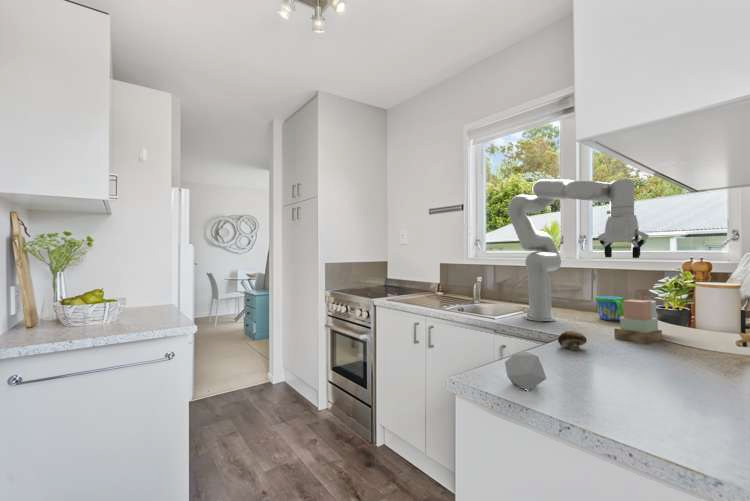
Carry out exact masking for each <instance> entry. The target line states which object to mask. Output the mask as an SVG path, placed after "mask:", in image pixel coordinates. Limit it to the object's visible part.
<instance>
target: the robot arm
mask: <svg viewBox="0 0 750 501" xmlns="http://www.w3.org/2000/svg"><path fill="white" fill-rule="evenodd" d="M531 191H532V193H533V194H534V195H528V194H518V195H515V196H514V197H512V198H511V199H510V200H509V203H508V205H507V215H508V218H509V220H510V222H511V224H512V226H513V228H514V231H515V234H516V236H517V239H518V241H519V243H520V245H521V247H522V249H523V250H525V251H528V252H531V253H529V254H528V255H527V256H526V258H525V269H526V272H527V273H526V274H527V280H528V282H527V284H528V286H527V287H528V308H524V309H523V310H522V313H524V314H527V315H525V319H526V320H527V319H529V320H528V321H531V320H535V321H534V322H541V321H550V322H555V321H556V320H557V319H556V317H555V316H553V313H552V312H553V311H552V310H553V309H552V308H553V307H552V281H551V277H550V275H549V272H554V271H557V270H558V269H560V267H561V264H562V258H561V256H560V255H561V254H559V251H558V248H557V247H556V244H555V242H554V240H553V238H552V236H551V235H550V234H549V233H547V232H545V231H538V230H537V229H536V228H535V226H534V222H533V221H532V220H531V218H530V217H529V216H528V215H527V214H537V213H538V214H539V213H540V212H542V211H543V210H545V209H546V208H548V207H549V206H550V205H552V204H553V203H554V202H555V201H556V200H561V201H562V200H564V201H567V200H578V201H579V200H580V201H593V202H600V203H606V202H609V210H606V215H609V216H607V218H606V221H605V228H604V232H603V233H601V234H599V235H598V236H597V239H598V241H599V243H600V244H601V245H602V247H603V248H604V256H605V258H612V254H613V252H612V250H613V248H612V247H611V246H612V245H613V244H614V243H630V244H631V245H633V247H632V258H633V259H639V258H640V256H641V248H642V247H643V245H644V244H645V243H646V242H647V240H648V238H649V237H650V234H647V233H645V232H643V231H640V230H639V222H638V218H637V215H635V182H634V180H633V179H631V178H621V179H615V180H612V181H611V182H602V181H595V180H577V179H576V180H572V179H548V178H547V179H546V178H544V179H543V178H542V179H539V180H537V181H535V182H534V184H533V185H532V190H531ZM640 237H641V239H640ZM639 239H640V240H639Z"/></svg>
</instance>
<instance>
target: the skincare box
mask: <svg viewBox="0 0 750 501" xmlns="http://www.w3.org/2000/svg"><path fill="white" fill-rule="evenodd" d="M644 301H649V300H646V299H644ZM650 301H651V315H652V318H656V319H658V312H657V311H656V309H657V302H656V300H650Z"/></svg>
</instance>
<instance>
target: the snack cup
mask: <svg viewBox="0 0 750 501" xmlns="http://www.w3.org/2000/svg"><path fill="white" fill-rule="evenodd" d="M594 299H595V301H596V306H595V307H596V309H597V310H598V316H599V319H600V320H604V321H610V322H611V321H612V322H615V321H620V318H621V316H622V315H624V308H623V301H625V300H624V298H623V297H620V296H611V295H610V296H609V295H608V296H607V295H598V296H597V295H596V296H595V297H594Z"/></svg>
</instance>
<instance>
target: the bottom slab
mask: <svg viewBox="0 0 750 501" xmlns="http://www.w3.org/2000/svg"><path fill="white" fill-rule="evenodd" d="M613 330H614V339H615V340H620V341H627V342H633V343H638V344H644V345H650V344H654V343H657V342H658V343H659V342H662V341H663V333H662V332H663V331H662V329H658V330H657V331H653V332H649V333H643V332H636V331H630V330H623V329H620V327H615V328H614V329H613Z"/></svg>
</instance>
